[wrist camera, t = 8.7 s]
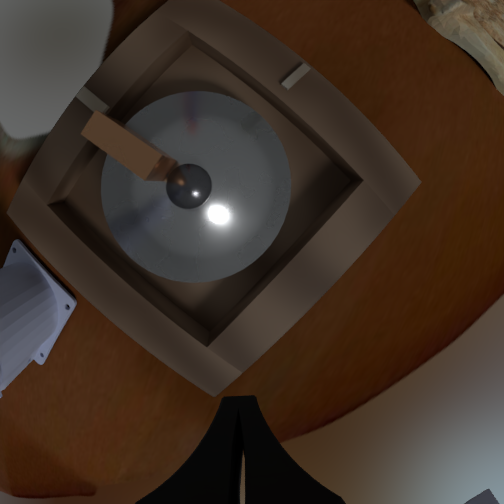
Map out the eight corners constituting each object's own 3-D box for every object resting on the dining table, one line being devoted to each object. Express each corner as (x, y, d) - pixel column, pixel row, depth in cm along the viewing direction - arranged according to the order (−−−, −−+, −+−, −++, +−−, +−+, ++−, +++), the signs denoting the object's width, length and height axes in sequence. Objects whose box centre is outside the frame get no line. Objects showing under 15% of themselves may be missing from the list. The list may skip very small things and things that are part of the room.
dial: (320, 169, 18) (349, 164, 13) (216, 304, 20) (209, 343, 15) (176, 68, 16) (156, 33, 11) (82, 205, 18) (38, 214, 13)
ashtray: (515, 155, 20) (549, 155, 15) (353, -31, 16) (372, -61, 11) (550, 60, 17) (571, 55, 12) (438, -69, 12) (454, -85, 8)
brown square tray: (217, 370, 22) (213, 399, 19) (32, 207, 19) (4, 213, 15) (396, 181, 20) (423, 182, 16) (195, 8, 16) (188, -19, 13)
